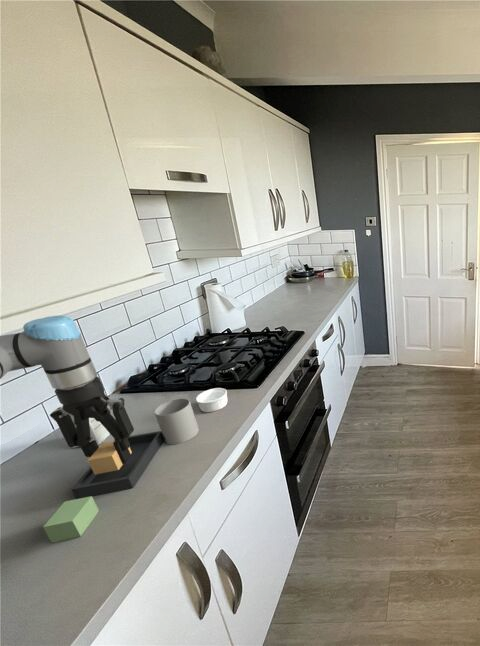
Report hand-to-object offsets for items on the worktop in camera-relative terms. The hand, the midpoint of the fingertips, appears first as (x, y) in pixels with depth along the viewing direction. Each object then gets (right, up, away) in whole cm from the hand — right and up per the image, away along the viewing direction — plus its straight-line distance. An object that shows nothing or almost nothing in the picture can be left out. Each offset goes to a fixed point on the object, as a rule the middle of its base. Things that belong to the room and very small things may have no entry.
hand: (113, 462), depth 88 cm
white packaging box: (-20, +1, +15) cm, 25 cm away
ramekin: (+7, +7, +30) cm, 31 cm away
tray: (-1, -3, +4) cm, 5 cm away
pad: (+3, -9, -12) cm, 15 cm away
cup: (+6, +2, +16) cm, 17 cm away
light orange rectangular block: (0, 0, 0) cm, 0 cm away
